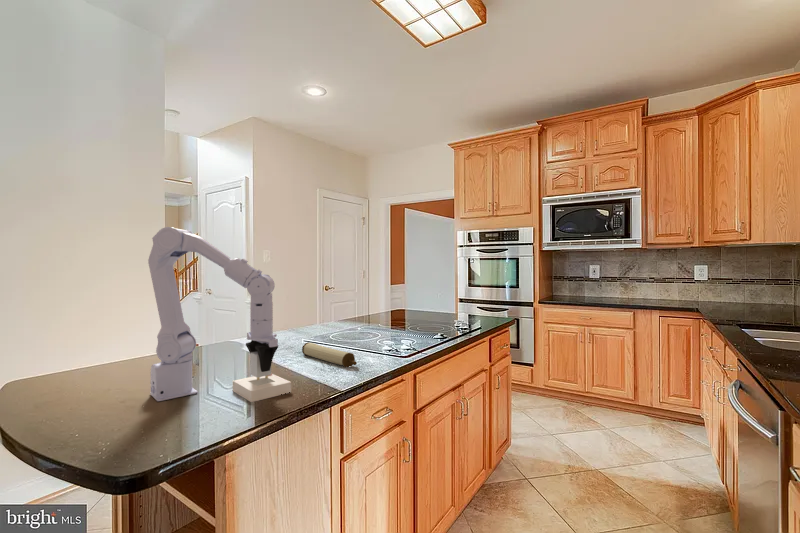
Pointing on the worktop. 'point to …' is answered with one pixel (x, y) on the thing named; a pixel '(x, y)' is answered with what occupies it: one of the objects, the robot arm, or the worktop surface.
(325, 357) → the rolling pin
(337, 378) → the worktop surface
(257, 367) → the plug
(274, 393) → the socket box
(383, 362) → the worktop surface
